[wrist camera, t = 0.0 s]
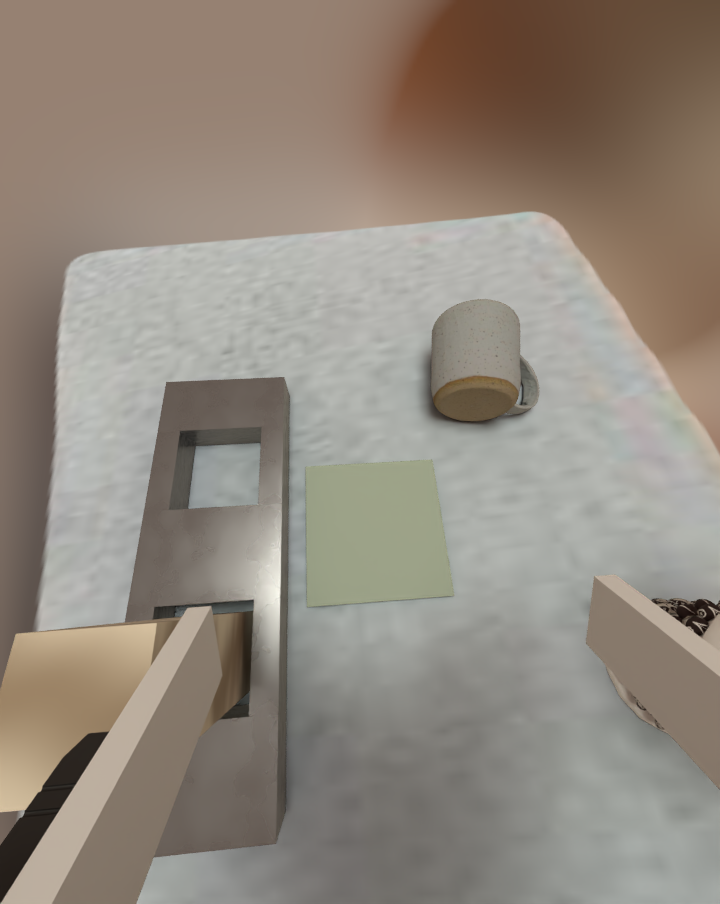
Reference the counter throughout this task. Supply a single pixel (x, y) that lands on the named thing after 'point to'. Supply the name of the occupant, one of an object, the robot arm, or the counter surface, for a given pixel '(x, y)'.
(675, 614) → the decorative candle
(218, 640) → the peg
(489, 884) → the counter surface
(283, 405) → the grey flat slotted plate
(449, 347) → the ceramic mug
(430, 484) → the mat
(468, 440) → the counter surface
